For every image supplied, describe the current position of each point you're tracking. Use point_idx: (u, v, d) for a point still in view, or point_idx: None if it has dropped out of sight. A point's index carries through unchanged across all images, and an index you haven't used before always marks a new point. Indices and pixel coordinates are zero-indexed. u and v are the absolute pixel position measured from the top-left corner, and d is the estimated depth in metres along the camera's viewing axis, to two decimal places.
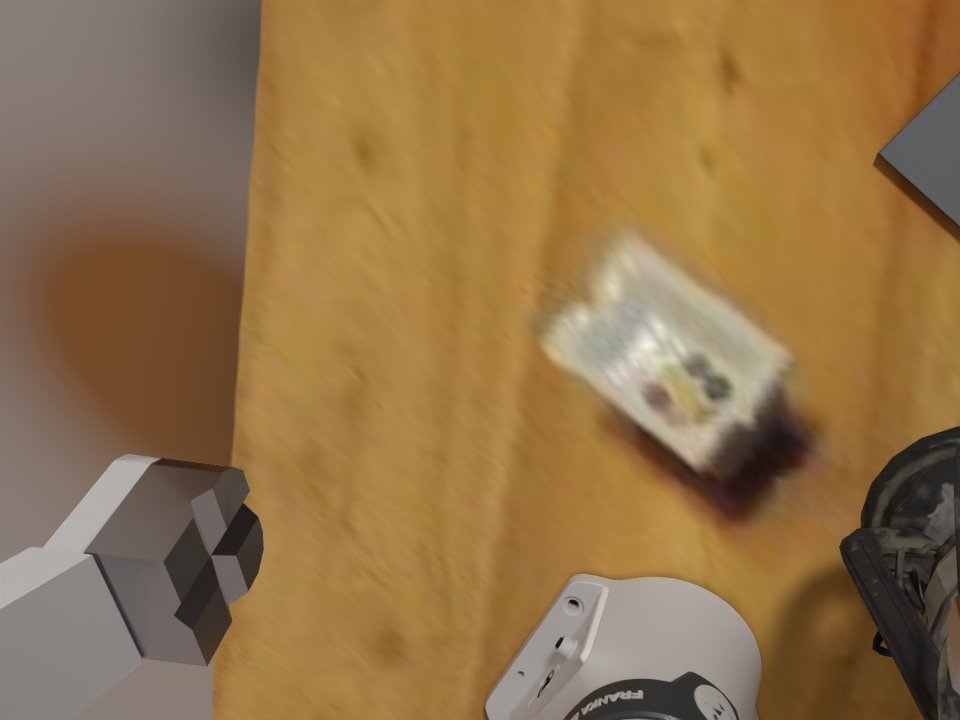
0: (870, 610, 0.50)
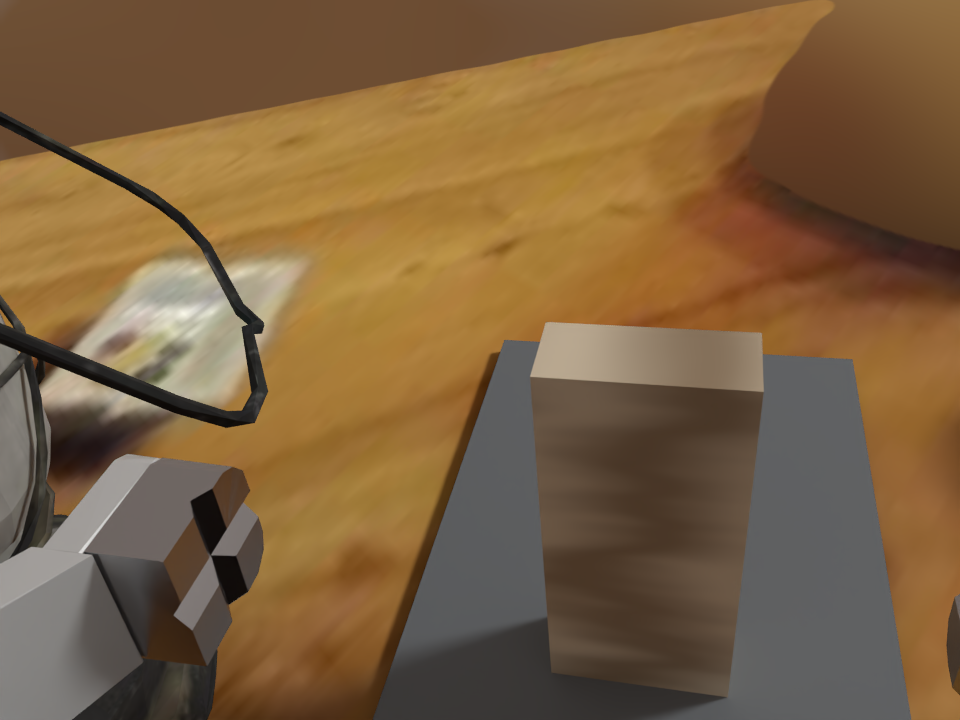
0: None
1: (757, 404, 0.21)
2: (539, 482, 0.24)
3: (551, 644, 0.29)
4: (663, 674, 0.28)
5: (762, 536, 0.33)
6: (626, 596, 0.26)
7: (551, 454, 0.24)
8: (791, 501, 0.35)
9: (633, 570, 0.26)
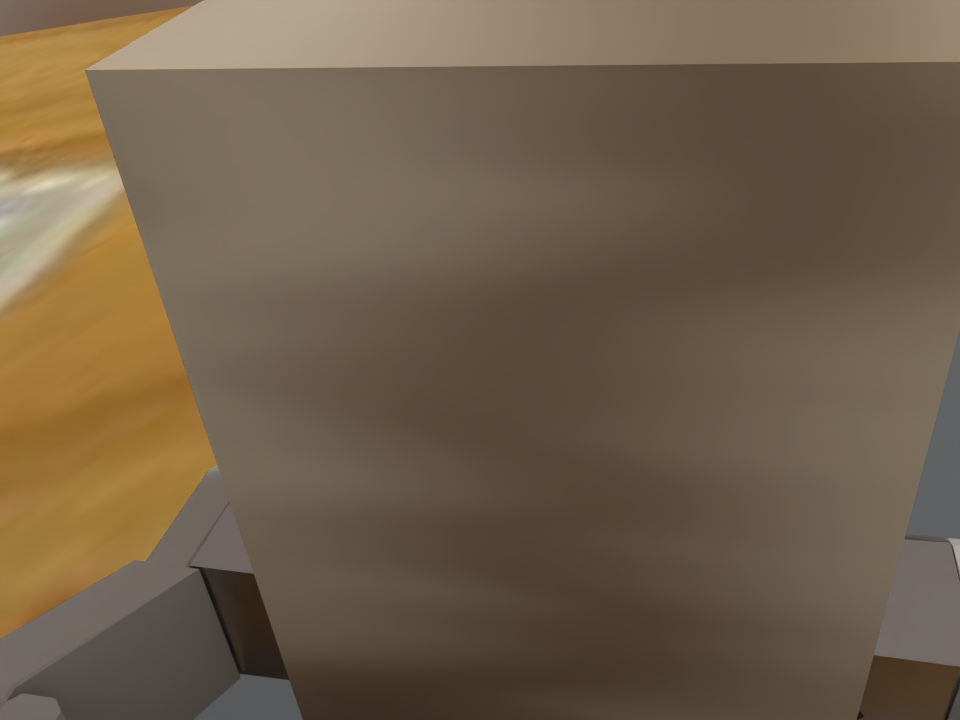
0: None
1: None
2: (226, 477, 0.08)
3: None
4: None
5: None
6: None
7: (238, 385, 0.07)
8: None
9: None
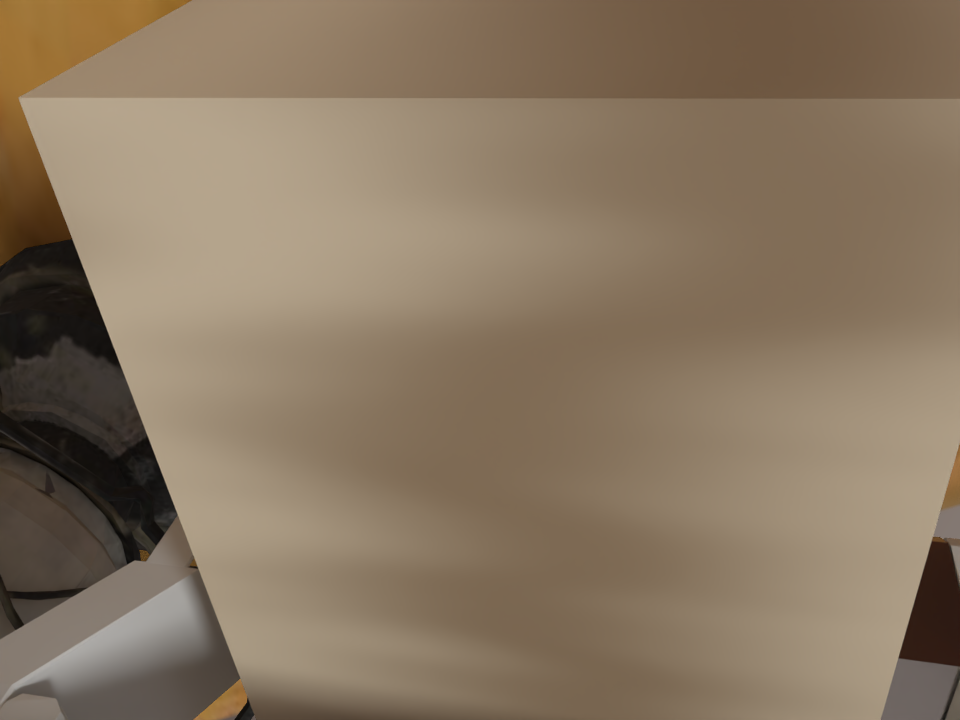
0: None
1: None
2: (186, 525, 0.07)
3: None
4: None
5: None
6: None
7: (196, 430, 0.07)
8: None
9: None
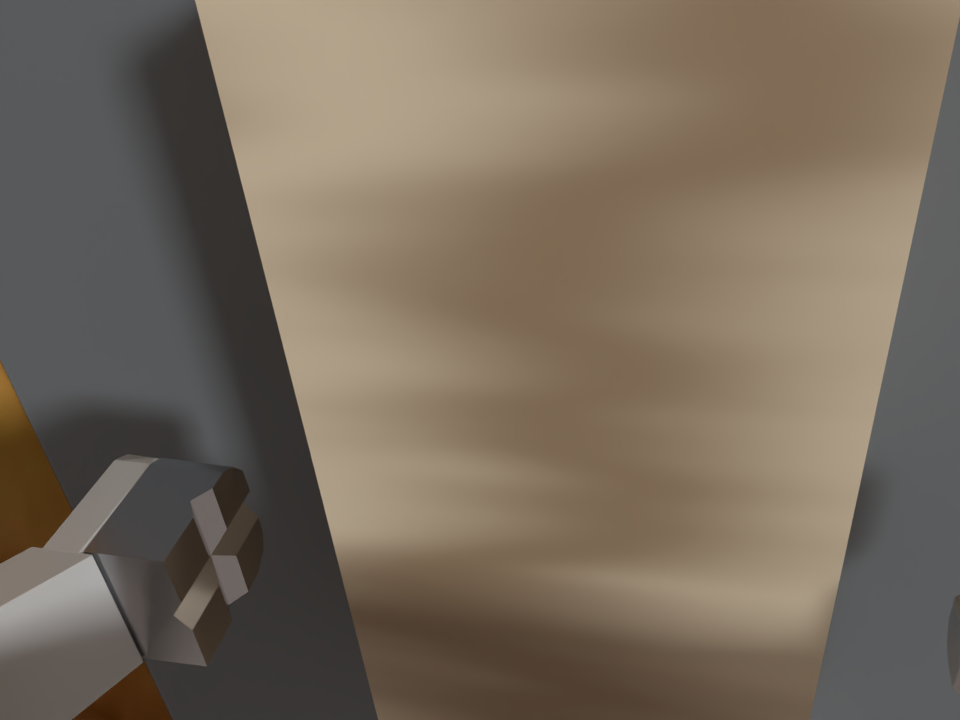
0: None
1: (938, 36, 0.06)
2: (292, 368, 0.09)
3: None
4: None
5: None
6: (541, 665, 0.11)
7: (308, 278, 0.08)
8: (910, 543, 0.12)
9: (552, 605, 0.10)
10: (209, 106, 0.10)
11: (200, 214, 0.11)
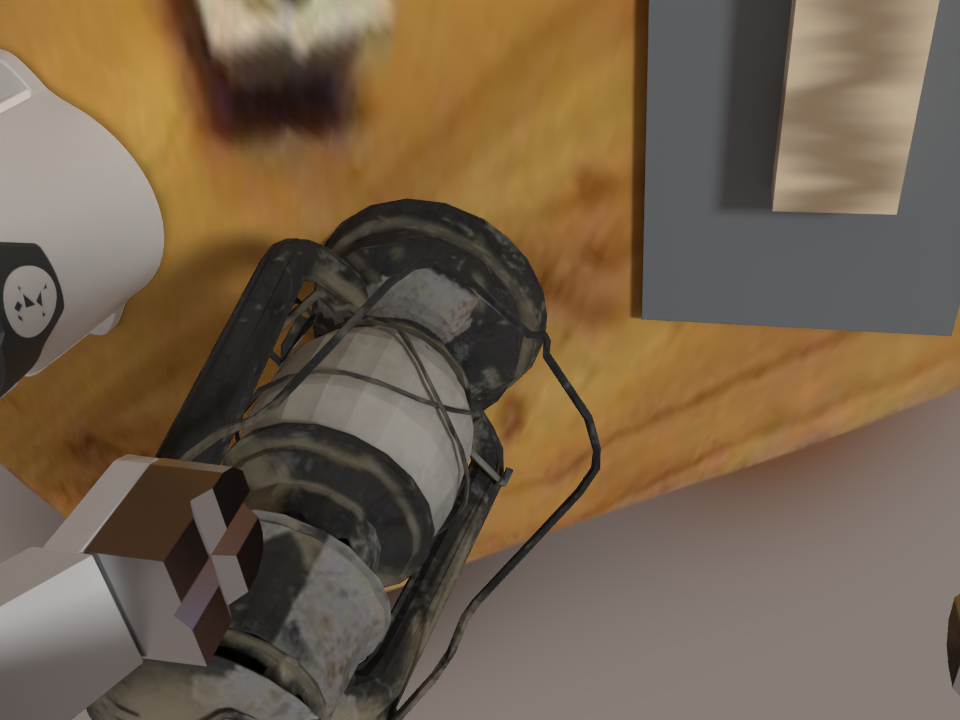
0: (223, 332, 0.42)
1: None
2: (794, 30, 0.39)
3: (777, 182, 0.43)
4: (853, 199, 0.42)
5: None
6: (837, 127, 0.41)
7: (806, 4, 0.38)
8: (938, 101, 0.41)
9: (846, 102, 0.40)
10: None
11: (742, 5, 0.41)
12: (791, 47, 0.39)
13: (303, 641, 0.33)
